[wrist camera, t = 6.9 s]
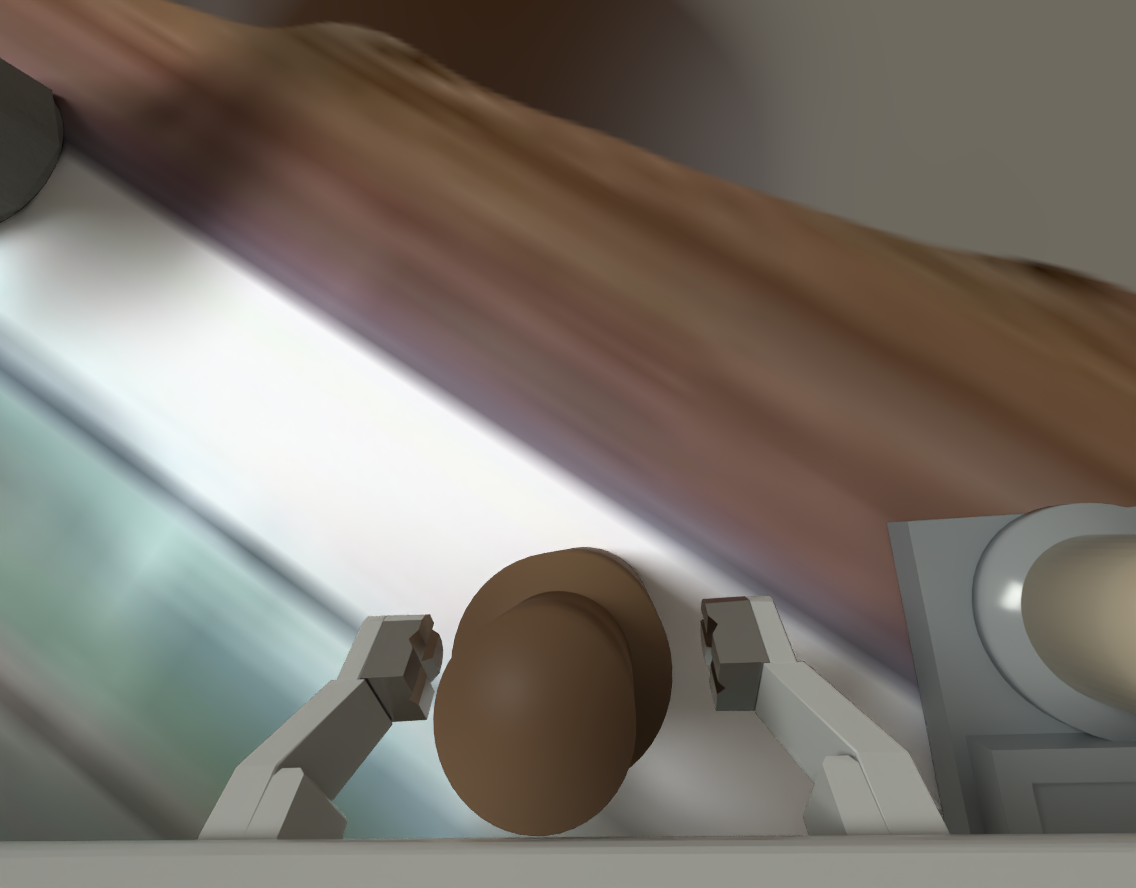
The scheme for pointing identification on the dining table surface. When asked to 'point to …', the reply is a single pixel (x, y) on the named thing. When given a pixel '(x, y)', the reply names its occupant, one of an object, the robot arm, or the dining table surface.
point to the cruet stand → (1026, 665)
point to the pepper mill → (552, 690)
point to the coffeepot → (25, 138)
